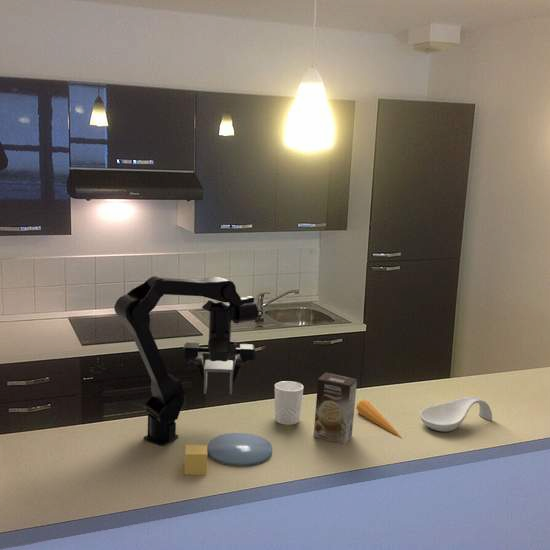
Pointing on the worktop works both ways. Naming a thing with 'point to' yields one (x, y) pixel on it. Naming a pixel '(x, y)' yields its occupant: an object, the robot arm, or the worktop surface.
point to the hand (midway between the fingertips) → (218, 382)
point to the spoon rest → (452, 413)
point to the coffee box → (335, 407)
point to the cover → (218, 370)
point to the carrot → (374, 416)
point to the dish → (239, 449)
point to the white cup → (288, 402)
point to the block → (195, 459)
